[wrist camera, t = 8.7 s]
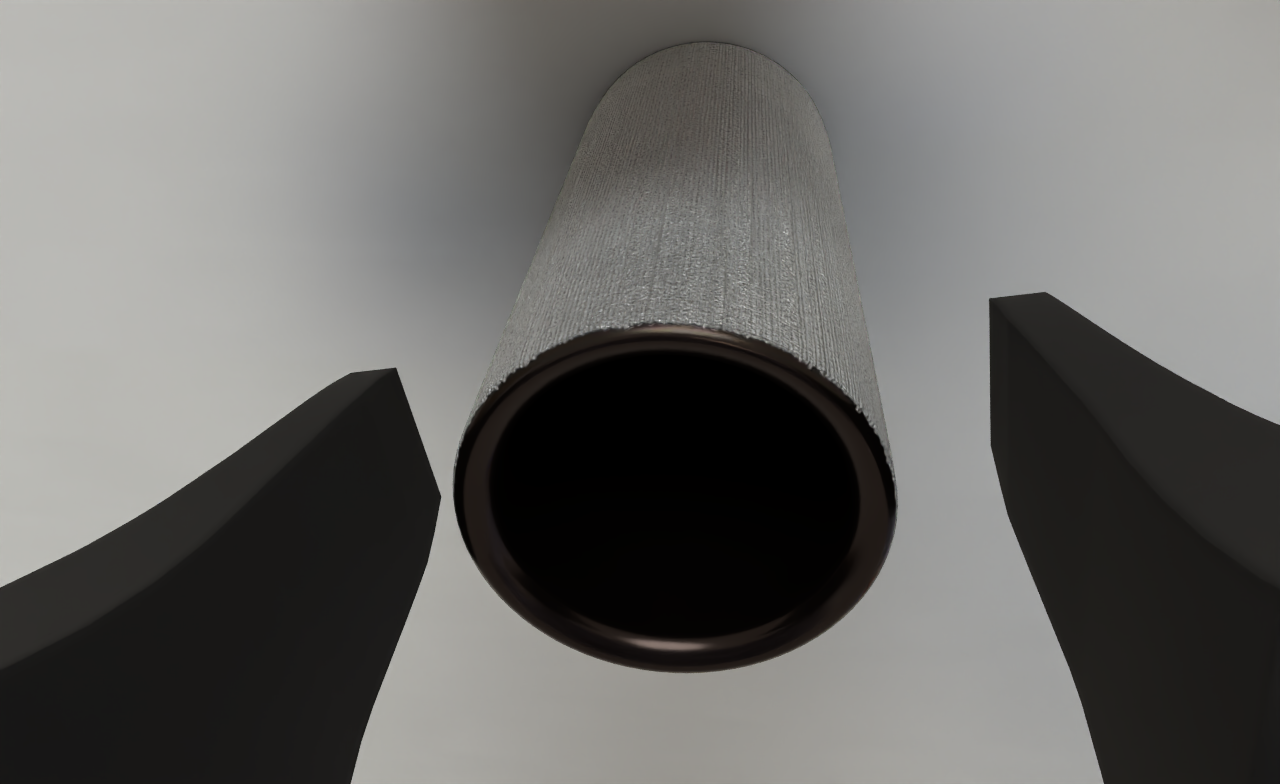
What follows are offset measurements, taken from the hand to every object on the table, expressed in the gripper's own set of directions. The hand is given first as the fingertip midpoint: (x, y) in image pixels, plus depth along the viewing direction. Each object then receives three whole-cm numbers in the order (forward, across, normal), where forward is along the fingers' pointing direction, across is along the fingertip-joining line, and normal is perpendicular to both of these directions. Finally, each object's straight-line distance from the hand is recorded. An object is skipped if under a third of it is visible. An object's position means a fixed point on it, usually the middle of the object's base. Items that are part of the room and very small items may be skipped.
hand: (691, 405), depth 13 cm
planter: (+8, 0, 0) cm, 8 cm away
